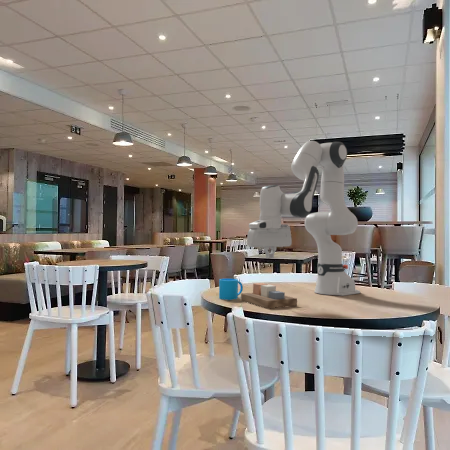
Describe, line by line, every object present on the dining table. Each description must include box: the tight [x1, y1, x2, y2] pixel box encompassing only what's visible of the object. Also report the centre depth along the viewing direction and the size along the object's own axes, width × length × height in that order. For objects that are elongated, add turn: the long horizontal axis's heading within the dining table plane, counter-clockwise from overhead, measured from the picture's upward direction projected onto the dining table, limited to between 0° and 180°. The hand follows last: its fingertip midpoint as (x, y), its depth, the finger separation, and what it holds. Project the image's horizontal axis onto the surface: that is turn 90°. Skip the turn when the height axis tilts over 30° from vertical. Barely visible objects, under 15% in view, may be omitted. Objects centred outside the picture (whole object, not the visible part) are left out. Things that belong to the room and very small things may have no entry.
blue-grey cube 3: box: [269, 290, 286, 300], centre depth 171 cm, size 4×4×4 cm
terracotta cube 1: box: [252, 282, 269, 295], centre depth 182 cm, size 4×4×4 cm
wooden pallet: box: [240, 292, 298, 309], centre depth 176 cm, size 14×20×3 cm
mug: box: [218, 278, 244, 301], centre depth 189 cm, size 12×8×8 cm
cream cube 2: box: [261, 284, 277, 297], centre depth 176 cm, size 4×4×4 cm
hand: (269, 257), depth 176 cm, fingers closed
